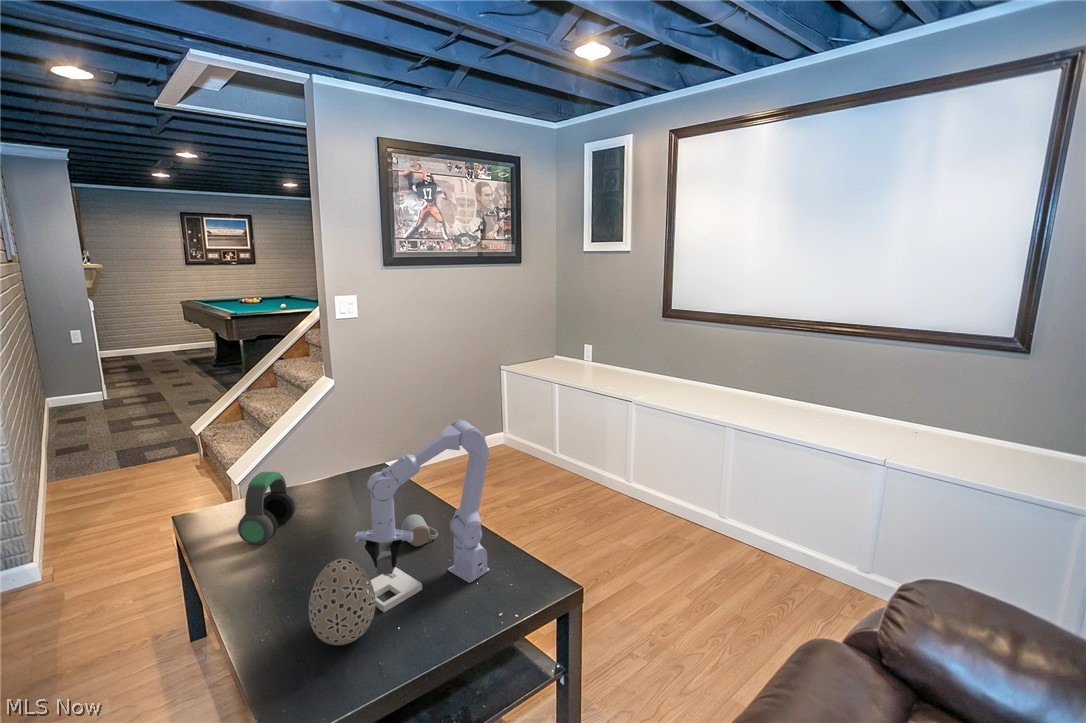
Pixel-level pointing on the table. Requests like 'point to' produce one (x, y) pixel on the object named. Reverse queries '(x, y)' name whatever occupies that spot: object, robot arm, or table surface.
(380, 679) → the table surface
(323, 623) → the ornament
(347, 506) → the table surface
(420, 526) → the ceramic mug
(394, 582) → the socket
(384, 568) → the plug
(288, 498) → the headphones
